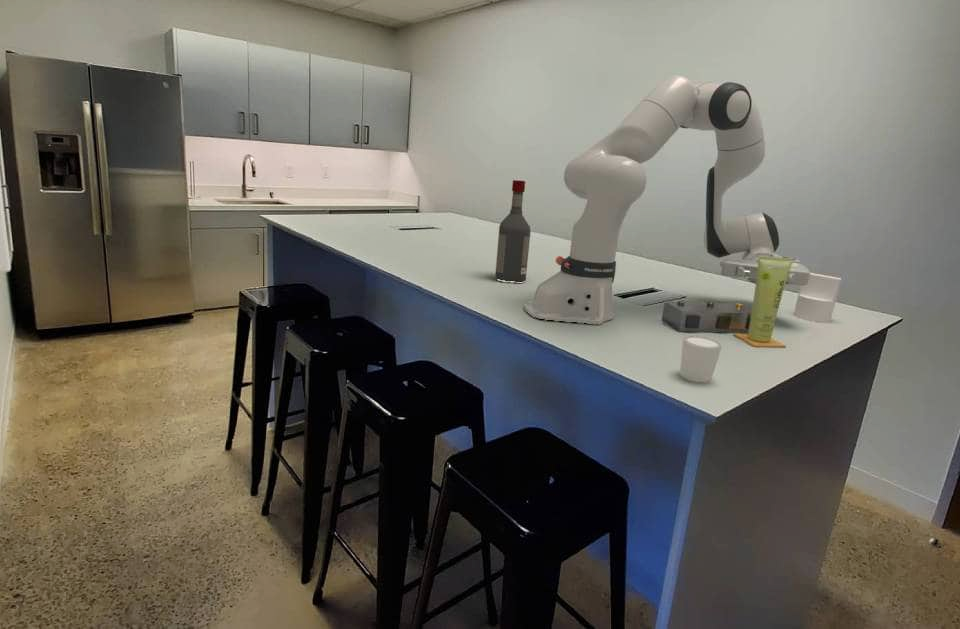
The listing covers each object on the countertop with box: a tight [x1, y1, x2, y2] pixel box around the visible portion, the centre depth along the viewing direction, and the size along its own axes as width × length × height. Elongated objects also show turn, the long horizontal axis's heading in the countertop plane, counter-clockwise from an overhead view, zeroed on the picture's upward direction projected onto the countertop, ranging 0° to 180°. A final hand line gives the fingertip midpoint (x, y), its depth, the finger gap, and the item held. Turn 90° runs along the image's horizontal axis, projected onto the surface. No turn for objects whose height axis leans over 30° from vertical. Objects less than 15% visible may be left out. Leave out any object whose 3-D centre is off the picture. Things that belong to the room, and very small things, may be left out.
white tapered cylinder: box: [679, 336, 722, 383], centre depth 105 cm, size 7×7×7 cm
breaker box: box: [661, 300, 753, 334], centre depth 138 cm, size 22×10×6 cm, turn 99°
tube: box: [747, 256, 794, 342], centre depth 128 cm, size 6×5×20 cm
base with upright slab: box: [793, 272, 842, 324], centre depth 154 cm, size 9×9×12 cm
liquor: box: [495, 179, 532, 282], centre depth 169 cm, size 9×9×30 cm
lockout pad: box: [733, 333, 787, 348], centre depth 130 cm, size 8×8×1 cm
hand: (766, 277), depth 137 cm, fingers open, 8 cm apart
